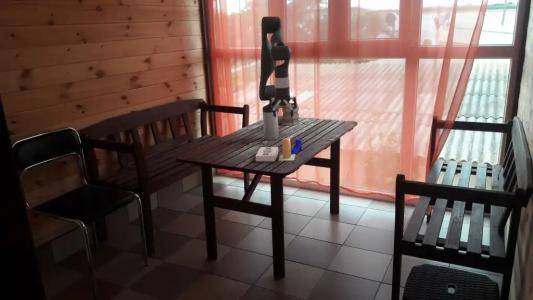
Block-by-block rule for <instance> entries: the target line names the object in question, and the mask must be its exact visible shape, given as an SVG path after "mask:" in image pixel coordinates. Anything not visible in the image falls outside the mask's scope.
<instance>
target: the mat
mask: <svg viewBox="0 0 533 300" xmlns="http://www.w3.org/2000/svg"><path fill="white" fill-rule="evenodd" d="M295 157H296V153H295V154H292V155H291V158H283V153H282V154H280V155H279V158H278V162H295V161H294V160H295Z"/></svg>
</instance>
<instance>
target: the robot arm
mask: <svg viewBox="0 0 533 300" xmlns="http://www.w3.org/2000/svg"><path fill="white" fill-rule="evenodd" d="M260 23H261V25H260V27H261V31H260V32H261V49H260V77H259V86H258V97H259V100H260V101H261V102H266V101H267V102H268V104H266V105H264V106H263V107H262V123H263V124H262V125H263V139H264V140H265V141H274V140H278V139H279V138H280V135H279V134H280V133H279V122H278V118H279V116H278V114H279V112H277V106H278V105H279V106H286V105H287V106H288V107H289V108H290V109H291V117H292V116H293V115H294V109H296V108H297V104H298V102H297V97H296V96H293V97H292V96H291V92H290V91H291V90H290V76H289V75H290V74H289V67H290V66H289V65H290V60H291V56H292V49H291V47H290V46H288V45H286V43H285V40H284V35H283V24H282V23H283V22H282V18H281V17H279V16H263V17H262V18H261V21H260ZM269 34H270V35H271V36H270V39H269V38H268V35H269ZM277 61H279V62H280V61H283V63H281V64H279V65H277ZM273 73H274V84H268V85H267V83H268V81H269V78H270V77H271V76H272V74H273ZM291 102H293V103H294V107H293V106H292V105H291V104H290V103H291Z"/></svg>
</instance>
